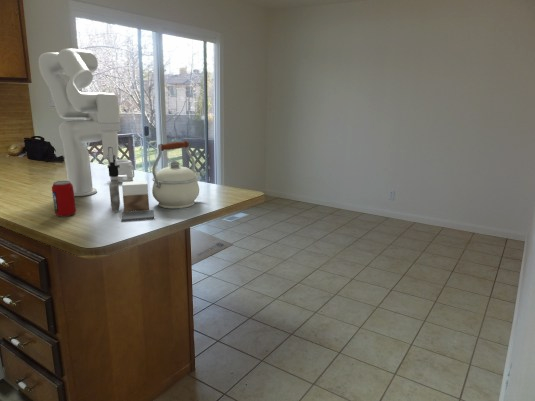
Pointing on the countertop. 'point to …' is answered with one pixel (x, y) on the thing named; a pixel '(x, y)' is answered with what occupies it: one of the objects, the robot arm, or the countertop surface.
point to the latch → (119, 176)
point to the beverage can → (63, 198)
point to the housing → (127, 199)
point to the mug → (125, 169)
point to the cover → (135, 188)
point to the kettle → (175, 181)
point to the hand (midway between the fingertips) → (113, 176)
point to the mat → (137, 215)
